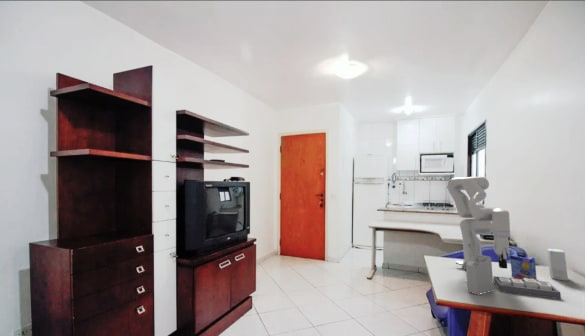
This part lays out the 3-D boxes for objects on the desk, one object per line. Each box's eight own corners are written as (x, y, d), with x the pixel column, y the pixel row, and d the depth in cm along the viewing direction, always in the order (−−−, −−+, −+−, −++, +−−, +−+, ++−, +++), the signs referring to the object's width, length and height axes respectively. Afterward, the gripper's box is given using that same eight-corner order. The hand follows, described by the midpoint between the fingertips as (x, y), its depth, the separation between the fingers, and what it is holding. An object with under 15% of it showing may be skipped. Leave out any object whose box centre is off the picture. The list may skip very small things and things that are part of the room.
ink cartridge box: (511, 276, 153) (509, 251, 154) (515, 274, 155) (513, 249, 156) (532, 281, 144) (530, 255, 145) (537, 279, 147) (534, 253, 148)
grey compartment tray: (500, 291, 133) (499, 285, 133) (493, 281, 146) (493, 276, 146) (560, 298, 123) (560, 292, 123) (548, 287, 135) (547, 282, 135)
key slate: (501, 286, 137) (501, 280, 137) (499, 283, 141) (498, 277, 141) (511, 287, 135) (511, 281, 135) (509, 284, 139) (508, 278, 139)
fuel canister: (474, 296, 128) (471, 244, 129) (464, 292, 132) (461, 242, 134) (494, 291, 134) (490, 241, 135) (483, 287, 138) (480, 239, 140)
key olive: (527, 287, 132) (526, 280, 132) (523, 283, 136) (523, 277, 136) (538, 288, 130) (537, 281, 130) (534, 285, 134) (533, 278, 135)
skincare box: (568, 281, 143) (565, 252, 144) (551, 279, 147) (549, 250, 148) (564, 276, 150) (562, 249, 151) (548, 274, 154) (546, 247, 155)
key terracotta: (514, 287, 134) (513, 281, 134) (511, 284, 138) (510, 278, 139) (524, 289, 132) (524, 282, 133) (521, 285, 137) (521, 279, 137)
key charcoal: (540, 291, 130) (540, 284, 130) (537, 287, 134) (536, 281, 134) (552, 292, 128) (551, 285, 128) (548, 288, 132) (547, 282, 132)
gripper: (489, 229, 148) (491, 262, 147) (495, 235, 135) (497, 271, 134) (506, 230, 145) (507, 264, 144) (514, 236, 131) (516, 273, 131)
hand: (503, 267), depth 139 cm, fingers closed
